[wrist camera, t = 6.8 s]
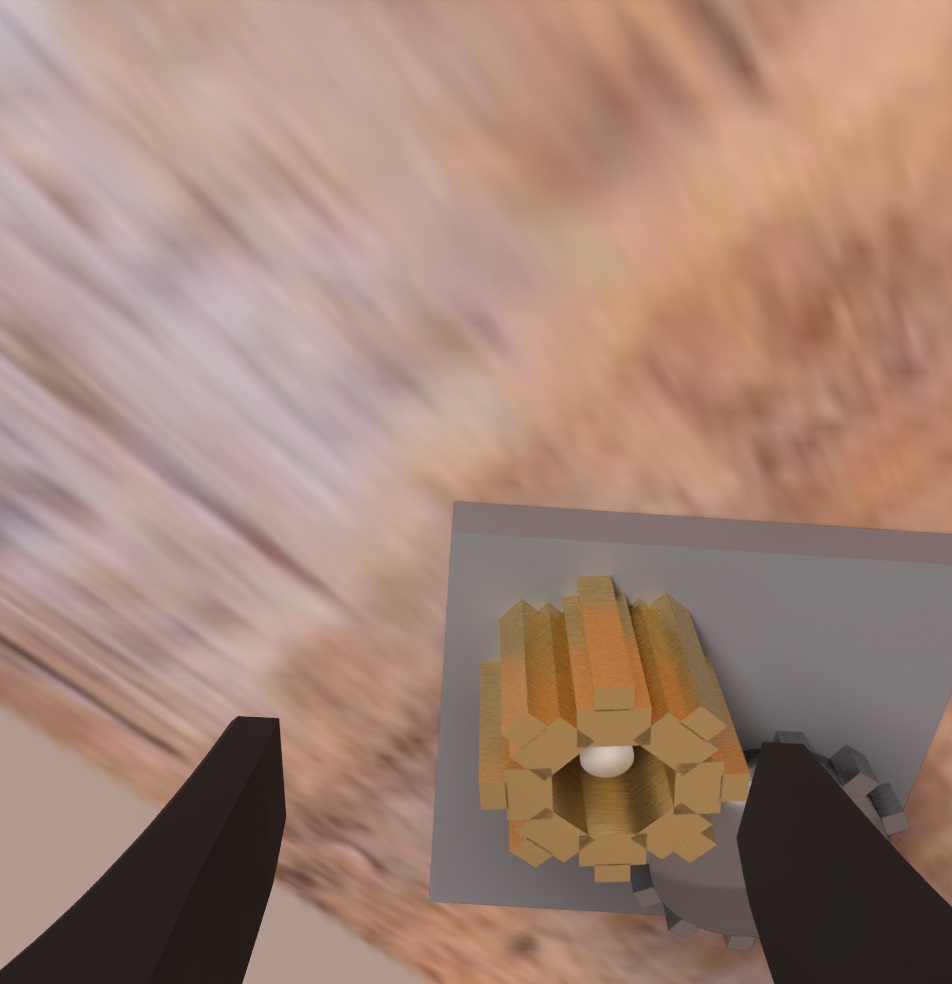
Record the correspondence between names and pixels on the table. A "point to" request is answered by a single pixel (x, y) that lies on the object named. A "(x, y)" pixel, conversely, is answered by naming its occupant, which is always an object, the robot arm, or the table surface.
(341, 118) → the table surface
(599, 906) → the gear board
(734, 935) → the gear
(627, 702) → the brass gear
